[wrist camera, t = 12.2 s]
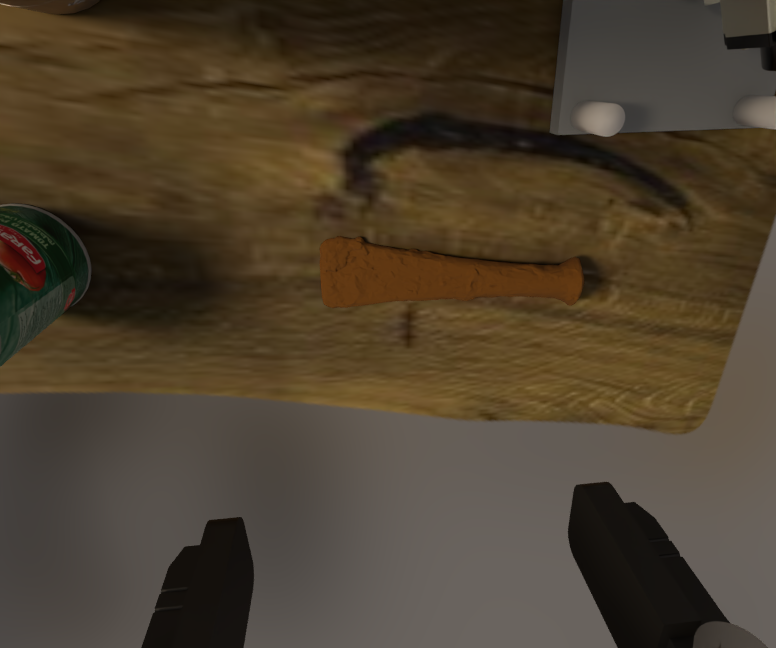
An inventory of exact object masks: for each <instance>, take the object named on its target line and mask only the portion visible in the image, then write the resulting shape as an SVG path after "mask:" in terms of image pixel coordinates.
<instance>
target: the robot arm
mask: <svg viewBox="0 0 776 648" xmlns="http://www.w3.org/2000/svg"><path fill="white" fill-rule="evenodd" d="M99 1H100V0H0V4H3V5H8V6H13V7H18V8H23V9H28V10H33V11H38V12H44V13H51V14H70V13H76V12H79V11H82V10H85V9H88V8H90V7H92V6H93V5H94V4H96V3H97V2H99ZM568 538H569V544H570V548H571V551H572V554H573V557H574V559H575V561H576V563H577V565H578V567H579V569H580V571H581V573H582V575H583V577H584V579H585V581H586V584H587V586H588V587H589V590H590V592H591V594H592V596H593V598H594V600H595V602H596V604H597V606H598V608H599V610H600V612H601V614H602V616H603V619H604V621H605V622H606V625H607V627H608V629H609V631H610V633H611V635H612V637H613V639H614V641H615V643H616V645H617V647H618V648H768V647H767V646H766V645H765V644H764V643H763V642H762V641H761V640H759V639H758V638H757V637H756V636H754V635H753V634H751V633H750V632H748V631H746V630H745V629H743V628H741V627H739V626H737V625H734V624H731V623H730V622H729V621H728V620H727V619H726V617H725V616H724V615H723V613H722V612H721V611H720V609H719V608H718V606H717V605H716V603H715V602H714V601H713V599H712V598H711V596H710V595H709V594H708V592H707V591H706V589H705V588H704V587H703V585H702V584H701V582H700V581H699V579H698V578H697V577H696V575H695V574H694V572H693V571H692V570H691V568H690V567H689V566H688V564H687V563H686V561H685V560H684V558H683V557H680V554H679V551H678V550H677V549H676V547H675V546H674V544H673V543H672V541H669V539H668V536H667V534H666V533H665V532H664V530H663V529H662V527H661V526H660V525H659V523H658V522H657V520H656V519H655V518H654V517H653V516H652V515H650V514H649V513H648V512H647V511H645V510H644V509H643V508H642V507H640V506H639V505H638V504H636V503H635V502H631V503H624V502H623V501H622V499H621V498H620V496H619V495H618V493H617V492H616V490H615V489H614V487H613V486H612V485H611V484H610V483H609V482H600V483H590V484H580V485H576V486H575V488H574V492H573V500H572V507H571V513H570V520H569V526H568ZM253 584H254V567H253V560H252V555H251V551H250V547H249V542H248V538H247V534H246V530H245V525H244V521H243V519H242V517H237V518H227V519H217V520H209V521H208V522H207V524H206V527H205V530H204V533H203V537H202V540H201V544H200V545H197V546H187V547H184V548H183V550H182V551H181V552H180V553H179V555H178V556H177V557H176V559H175V560H174V561H173V562H172V564H171V565H170V566H169V568H168V571H167V574H166V577H165V580H164V583H163V586H162V589H161V594H160V595H159V598H158V600H157V603H156V606H155V613H153V615H152V618H151V621H150V624H149V627H148V630H147V633H146V636H145V639H144V642H143V645H142V648H243V647H244V642H245V635H246V629H247V623H248V617H249V611H250V605H251V598H252V593H253Z"/></svg>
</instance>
